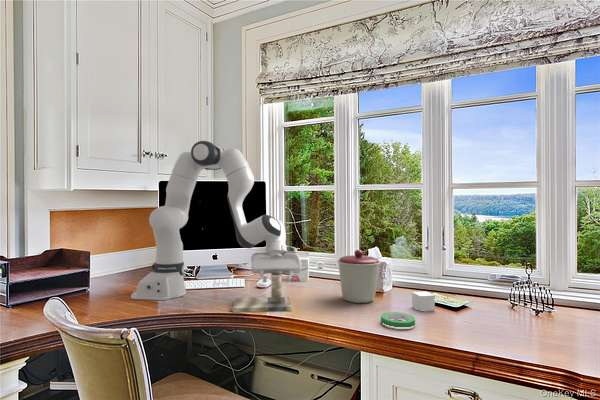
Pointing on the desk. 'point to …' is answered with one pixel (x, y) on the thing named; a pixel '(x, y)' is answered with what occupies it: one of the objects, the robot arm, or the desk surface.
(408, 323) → the tape roll
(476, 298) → the desk surface
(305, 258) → the ink cartridge box
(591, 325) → the desk surface
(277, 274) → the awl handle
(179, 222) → the robot arm
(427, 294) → the adhesive note
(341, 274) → the canister
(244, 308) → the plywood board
